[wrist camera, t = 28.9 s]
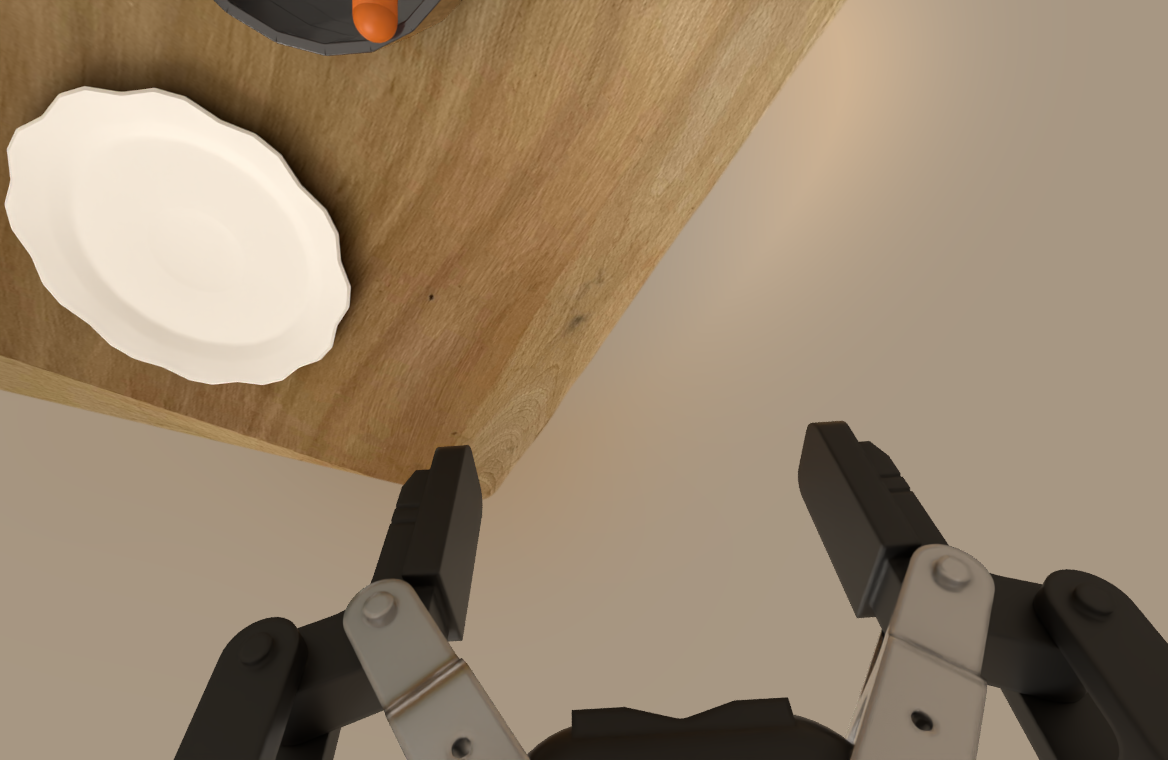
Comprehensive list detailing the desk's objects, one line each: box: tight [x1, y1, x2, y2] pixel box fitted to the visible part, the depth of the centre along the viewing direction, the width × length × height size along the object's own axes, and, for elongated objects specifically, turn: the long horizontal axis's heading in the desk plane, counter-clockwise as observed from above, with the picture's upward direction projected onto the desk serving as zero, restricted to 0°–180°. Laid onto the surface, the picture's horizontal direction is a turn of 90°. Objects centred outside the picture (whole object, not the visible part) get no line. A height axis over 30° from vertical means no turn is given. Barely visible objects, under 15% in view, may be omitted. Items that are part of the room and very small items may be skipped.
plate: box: [5, 86, 351, 385], centre depth 47 cm, size 25×25×2 cm
